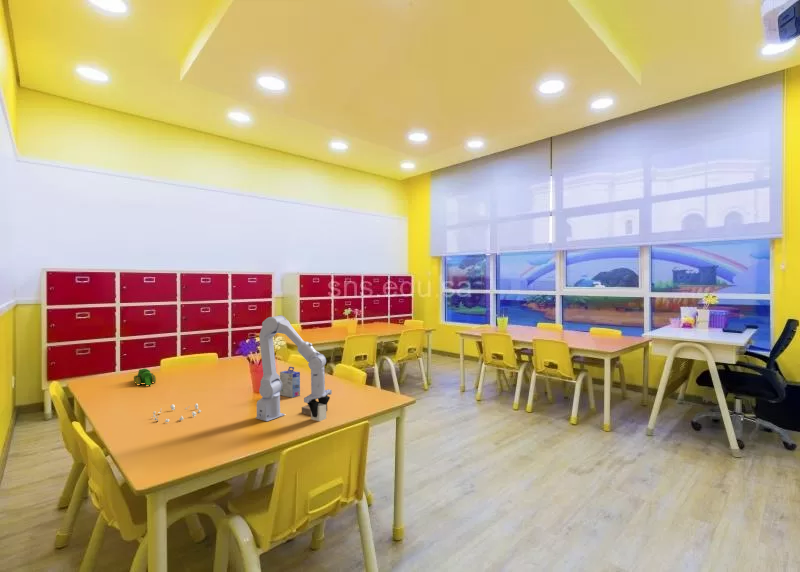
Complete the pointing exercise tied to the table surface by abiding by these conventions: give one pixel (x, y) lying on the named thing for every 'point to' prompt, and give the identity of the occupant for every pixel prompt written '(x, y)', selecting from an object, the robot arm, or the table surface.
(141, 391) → the table surface
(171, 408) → the game piece set
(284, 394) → the ink cartridge box
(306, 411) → the walnut base
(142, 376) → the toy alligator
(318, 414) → the offwhite block
